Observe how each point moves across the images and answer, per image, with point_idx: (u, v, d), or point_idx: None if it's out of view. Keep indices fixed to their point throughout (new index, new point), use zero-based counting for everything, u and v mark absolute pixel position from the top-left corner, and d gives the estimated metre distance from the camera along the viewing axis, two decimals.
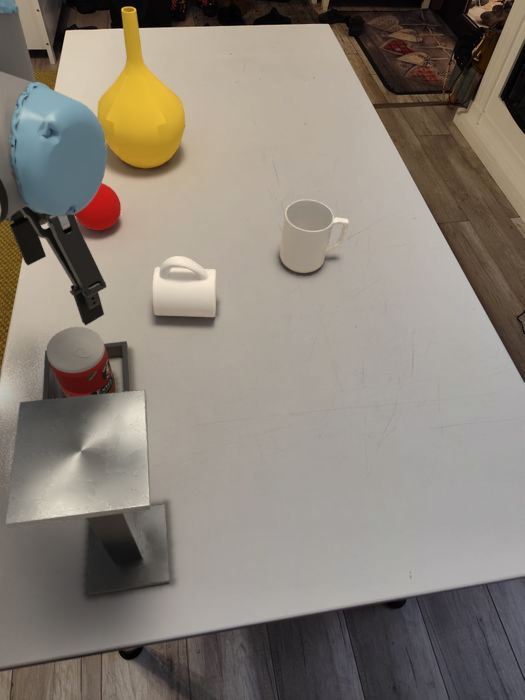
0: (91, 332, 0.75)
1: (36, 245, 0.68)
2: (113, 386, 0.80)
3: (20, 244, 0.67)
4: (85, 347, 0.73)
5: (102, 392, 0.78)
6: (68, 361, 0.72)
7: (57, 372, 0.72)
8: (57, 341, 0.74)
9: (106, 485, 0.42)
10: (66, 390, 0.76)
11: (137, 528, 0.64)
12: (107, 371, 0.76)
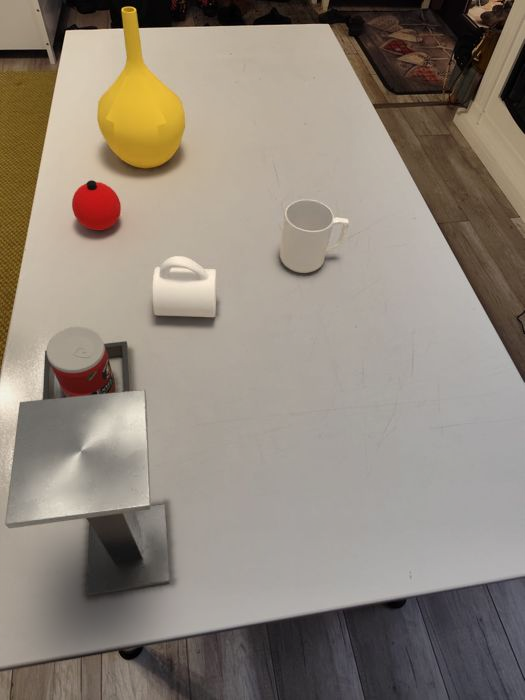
0: (91, 332, 0.75)
1: None
2: (113, 386, 0.80)
3: None
4: (85, 347, 0.73)
5: (102, 392, 0.78)
6: (68, 361, 0.72)
7: (57, 372, 0.72)
8: (57, 341, 0.74)
9: (106, 485, 0.42)
10: (66, 390, 0.76)
11: (137, 528, 0.64)
12: (107, 371, 0.76)
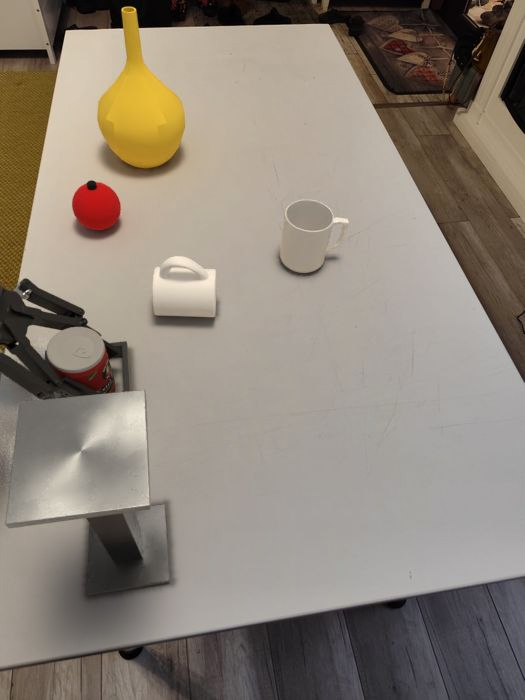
0: (91, 332, 0.75)
1: None
2: (113, 386, 0.80)
3: (83, 385, 0.73)
4: (85, 347, 0.73)
5: (102, 392, 0.78)
6: (68, 361, 0.72)
7: (57, 372, 0.72)
8: (57, 341, 0.74)
9: (106, 485, 0.42)
10: None
11: (137, 528, 0.64)
12: (107, 371, 0.76)
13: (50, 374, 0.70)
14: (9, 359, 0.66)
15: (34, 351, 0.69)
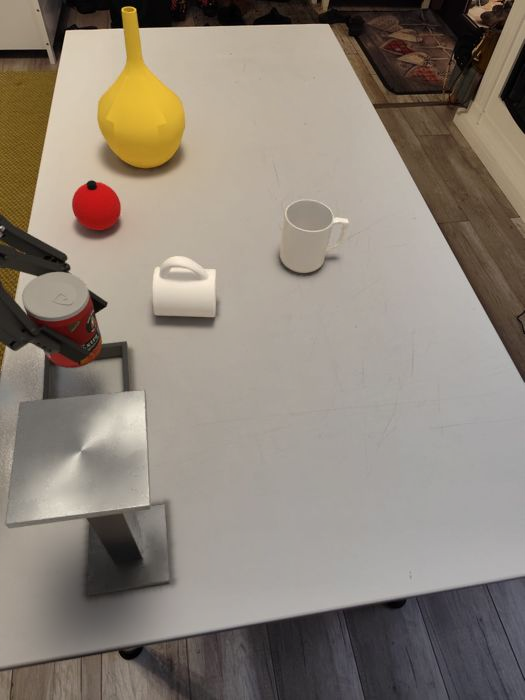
0: (74, 278, 0.66)
1: None
2: (100, 343, 0.71)
3: None
4: (67, 294, 0.64)
5: (86, 348, 0.68)
6: (46, 308, 0.63)
7: (34, 321, 0.63)
8: (35, 287, 0.64)
9: (106, 485, 0.42)
10: None
11: (137, 528, 0.64)
12: (92, 324, 0.67)
13: (25, 322, 0.61)
14: None
15: (6, 294, 0.60)
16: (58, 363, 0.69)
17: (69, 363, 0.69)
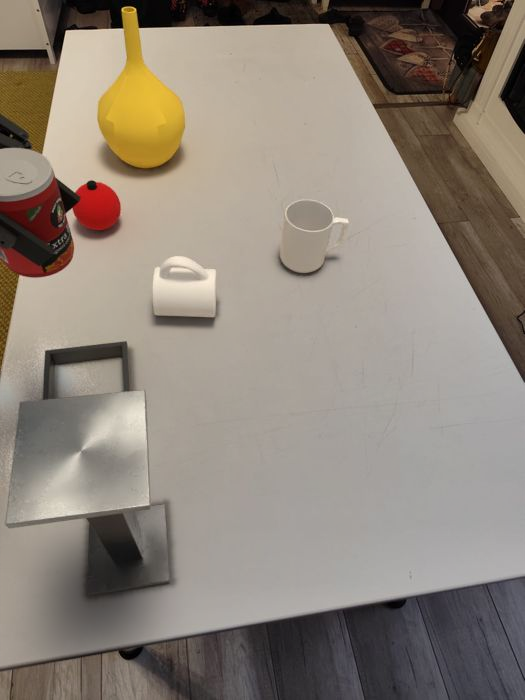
0: (35, 154, 0.51)
1: None
2: (71, 249, 0.57)
3: None
4: (25, 172, 0.50)
5: None
6: None
7: None
8: None
9: (106, 485, 0.42)
10: None
11: (137, 528, 0.64)
12: (59, 216, 0.53)
13: None
14: None
15: None
16: (18, 270, 0.55)
17: (31, 270, 0.55)
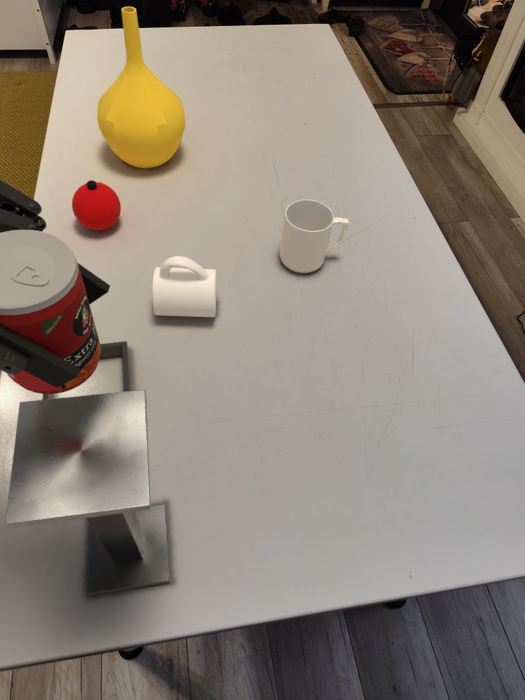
0: (52, 240, 0.37)
1: None
2: (97, 353, 0.43)
3: None
4: (39, 267, 0.36)
5: (75, 362, 0.40)
6: (0, 291, 0.35)
7: None
8: None
9: (106, 485, 0.42)
10: None
11: (137, 528, 0.64)
12: (85, 320, 0.39)
13: None
14: None
15: None
16: (27, 387, 0.41)
17: (46, 387, 0.41)
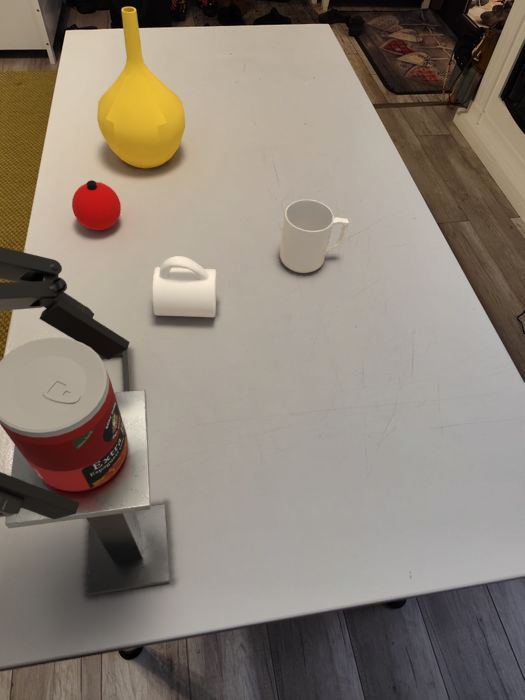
0: (82, 349, 0.37)
1: None
2: (125, 449, 0.43)
3: None
4: (70, 381, 0.36)
5: (104, 465, 0.40)
6: (32, 410, 0.34)
7: (10, 434, 0.34)
8: (12, 368, 0.36)
9: (106, 485, 0.42)
10: (32, 464, 0.38)
11: (137, 528, 0.64)
12: (114, 426, 0.38)
13: None
14: None
15: None
16: (55, 487, 0.41)
17: (74, 488, 0.41)
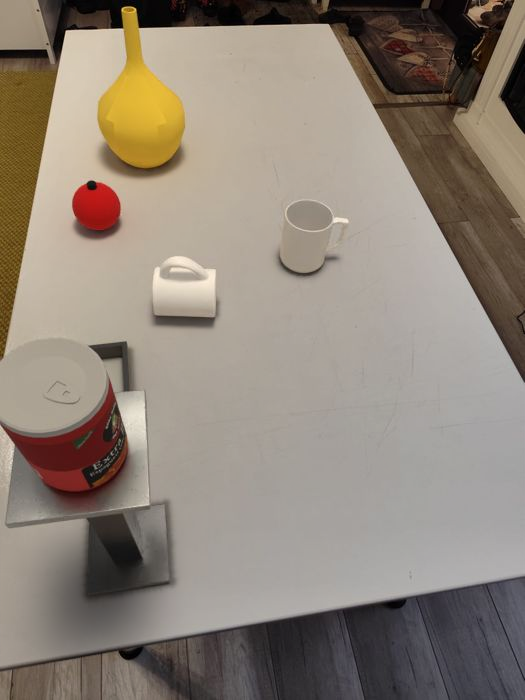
0: (82, 349, 0.37)
1: None
2: (125, 449, 0.43)
3: None
4: (69, 381, 0.36)
5: (104, 465, 0.40)
6: (32, 411, 0.34)
7: (10, 434, 0.34)
8: (12, 368, 0.36)
9: (106, 485, 0.42)
10: (32, 464, 0.38)
11: (137, 528, 0.64)
12: (114, 426, 0.38)
13: None
14: None
15: None
16: (55, 487, 0.41)
17: (74, 488, 0.41)
